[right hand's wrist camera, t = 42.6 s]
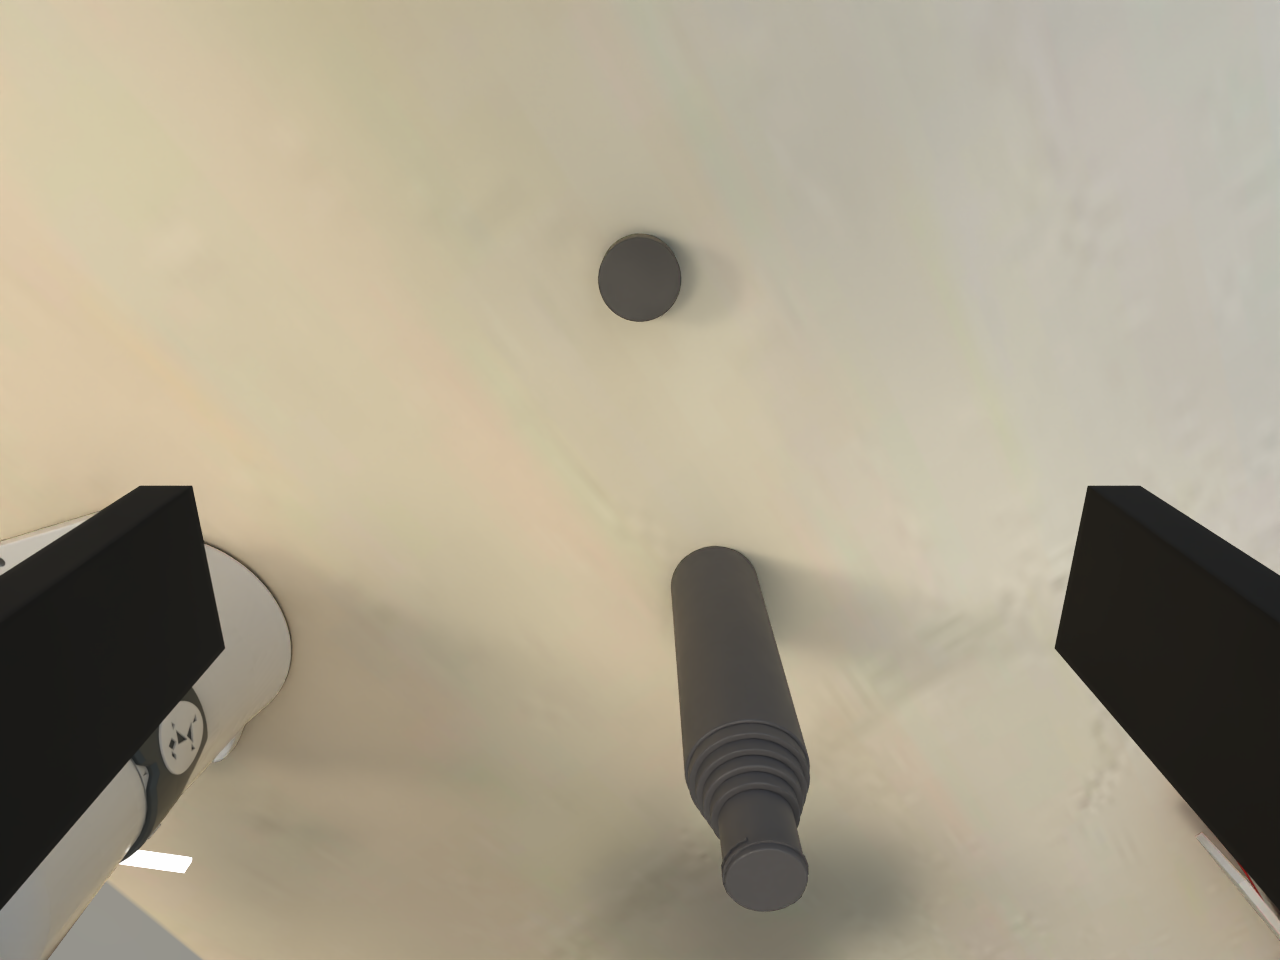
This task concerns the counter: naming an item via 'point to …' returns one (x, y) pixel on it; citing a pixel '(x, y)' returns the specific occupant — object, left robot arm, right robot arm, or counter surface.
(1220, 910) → the counter surface
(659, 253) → the cap
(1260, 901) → the toy
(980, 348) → the counter surface
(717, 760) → the bottle
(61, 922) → the left robot arm
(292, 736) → the counter surface
